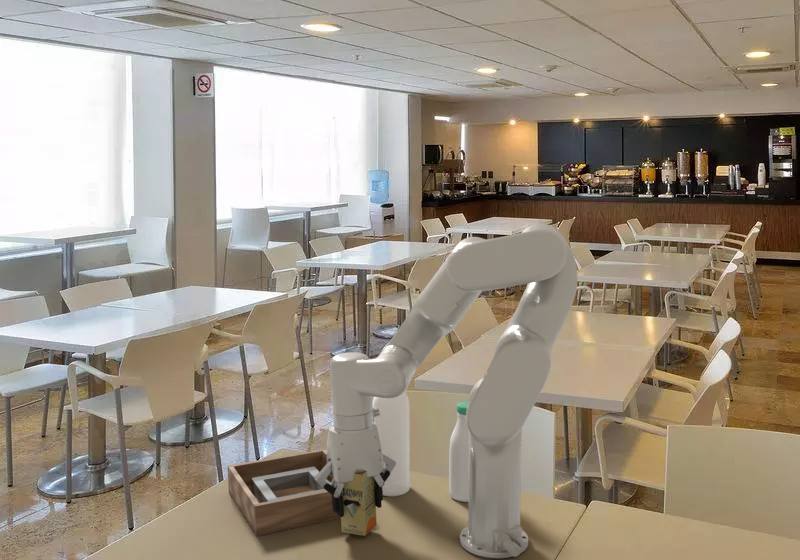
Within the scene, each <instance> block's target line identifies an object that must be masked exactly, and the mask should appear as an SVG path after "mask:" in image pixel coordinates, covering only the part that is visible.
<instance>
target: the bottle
mask: <svg viewBox="0 0 800 560" xmlns="http://www.w3.org/2000/svg"><path fill="white" fill-rule="evenodd" d="M372 404H373V408H374V409H379V411H380V415H379V416H376V417H375V418H374V422H375V423H376V424H377V428H378V431H379V436H380V440H381V446H382V453H383V454H384V455H386V456H388V457H389V458H391V459H392V460H394V461H395V462H396V465H395V467H394V468H393V470H392V472H390V476H389V477H388V478H387V480H386V481H385V482H384V483H385V485H384V486H383V487H382V490H383V497H384V496H385V497H399V496H402V495H405V494H407V493H408V492H409V491H410V490H411V474H410V470H411V469H410V468H411V467H410V466H411V463H410V462H411V461H410V460H411V459H410V456H411V453H410V450H411V449H410V440H411V439H410V400H409V397H408V394H407V390H405V392H404V393H403V394H401V395H400V396H398V397H395V398H389V399H388V398H379V397H374V396H373V398H372ZM384 466H385V463H384V462H383V468H384Z"/></svg>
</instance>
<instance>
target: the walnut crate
mask: <svg viewBox="0 0 800 560" xmlns="http://www.w3.org/2000/svg"><path fill="white" fill-rule="evenodd" d="M326 460H327V448H321V449H316V450H315V449H314V450H311V451H310V450H309V451H305V452H304V451H303V452H298V453H294V454H292V453H291V454H287V455H280V456H276V457H270V458H265V459H259V460H252V461H247V462H242V463H241V462H240V463H235V464H229V465H227V481H228V484H227V485H228V493H229V495H230V496H231V499H232V500H233V502H234V504H235V505H236V506H237V508H238V509H239V511H240V513H241V514H242V516H243V518H244V519H245V521H246V523H248V525H249V527H250V528H251V530H252V532H253V533H254V536H255V537H258V536H264V535H268V534H269V535H270V534H273V533H277V532H282V531H288V530H293V529H296V528H300V527H305V526H309V525H316V524H319V523H324V522H329V521H333V520H337V519H341V517H340V516H339V515H338V514H337V513H336V512H334V511H333V508H332V494H330V493H329V492H328V491H326V490H325V489H324V488H323V487H322V486H321V485H320V484H318V483H317V482H316V481H315V477H316V475H317V474H318V473H319V472H320V471H321V470H322V469H323V468H324V466H325V465H326V464H327V463H326ZM333 478H334V477H332V476H329V475H328V476H327V477H326V482H328V483H329V484H330V485H331V483H332V480H333Z"/></svg>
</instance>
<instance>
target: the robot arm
mask: <svg viewBox="0 0 800 560" xmlns="http://www.w3.org/2000/svg"><path fill="white" fill-rule="evenodd" d="M522 285H526V288H525V289H524V292H523V294H522V296H521V298H520V301H519V302H518V305H517V307H516V309H515V311H514V313H513V315H512V317H511V318H510V320H509V322H508V324H507V326H506V328H505V330H504V331H503V333H502V334H501V336H500V337H499V339H498V340H497V343H496V347H495V351H494V354H493V357H492V360H491V362H490V364H489V366H488V368H487V370H486V372H485V374H484V376H483V377H481V378H480V379H479V380H478V381H477V382H475V384H474V386H473V387H472V389H471V391H470V394H469V397H468V401H467V402H468V406H467V411H466V423H467V427H468V430H469V499H468V502H467V503H468V504H467V505H468V511H467V512H468V514H467V515H468V523H467V524H468V525H467V526H466V527H464V528H463V529H461V532H460V534H459V544H460V545H461V546H462V548H463V549H464V550H465V551H467V552H469V553H471V554H473V555H475V556H478V557H483V558H488V559H506V558H513V557H514V558H515V557H518V556H520V554H522V553H523V552H525V551H526V550H527V549H528V546H529V536H528V534H527V532H525V531H524V530H523V528H522V526H521V498H522V497H521V492H522V491H521V490H522V488H521V487H522V485H521V484H522V483H521V482H522V474H521V473H522V447H523V443H522V441H523V427H524V424H525V423H526V421H527V419H528V417H529V416H530V414H531V412H532V409H533V408H534V406H535V405H536V402H537V400H538V398H539V397H540V395H541V392H542V391H543V389H544V388H545V385H546V384H547V381H548V378H549V374H550V371H551V367H552V356H551V353H552V349H553V347H554V344H555V343H556V340H557V338H558V336H559V335H560V333H561V331H562V328H563V326H564V323H565V321H566V319H567V317H568V315H569V313H570V311H571V308H572V305H573V304H574V301H575V298H576V294H577V289H578V268H577V263H576V258H575V255H574V253H573V251H572V249H571V246H570V245H569V244H568V241H567V240H566V239H565V237H564V236H563V235H562V234H561V232H560V231H559V230H558V229H557V228H555V226H552V225H550V224H547V223H540V222H539V223H535V224H531V225H530V226H527V227H526V228H524V229H523V230H522V231H521V232H519V233H513V234H510V235H505V236H500V237H495V238H494V237H493V238H489V239H488V238H487V239H485V238H482V237H479V236H470V237H466V238H463V239H462V240H460V241H459V242H458V243H457V244H456V245H455V247H454V248H453V250H452V251H451V252H450V253H449V254H448V256H447V257H446V259H445V260H444V261H443V263H442V264H441V266H440V267H439V268H438V270H437V271H436V272H435V274H434V275H433V277H432V278H431V280H430V281H429V282H428V283H427V285H426V286H425V288H424V289H423V290H422V292H421V293H420V294H419V296H418V297H417V298H416V300H415V302H414V303H413V305H412V308H411V310H410V312H409V314H407V316H406V318H405V319H404V321H403V323H402V324H401V325H400V327H399V328H398V329H397V331H396V332H395V333H394V335H393V336H392V338H391V339H390V340H389V341H388V343H387V344H386V345H385V347H384V348H383V349H382V350H381V352H380V354H378V356H377V357H376V358H373V359H370V358H369V356H368V355H367V354H365V353H362V352H355V351H354V352H343V353H338V354H336V355H334V356H333V357H331V360H330V362H329V376H330V378H329V379H330V392H331V393H330V394H331V406H332V407H331V408H332V410H331V411H332V424H333V425H332V426H330V427H329V428H328V434H327V441H326V450H327V460H326V463H327V464H326V465H325V466H324V468H323V469H322V470H321V471H320V472H319V473H318V474H317V475H316V477H315V481H316V482H317V483H318V484H320V485H321V486H322V487H323V488H324V489H325V490H326V491H328V492H329V493H330V494H332V508H333V511H334V512H336V513H337V514H338V515H339V516H340V517H343V516H344V505H343V497H342V496H341V491H342V489H343V486H344V484H345V483H346V482H350V481H353V476H354V473H359V472H363V471H367V477H373V478H374V485H375V506H376V508H379V509H380V508H382V501H383V500H384V496H383V490H382V487H383V486H384V485H385V483H384V482H385V481H386V480H387V478H388V477H389V476H390V472H392V470H393V468H394V467H395V465H396V462H395V461H394V460H392V459H391V458H389V457H388V456H386V455H384V454H383V453H382V446H381V440H380V436H379V431H378V428H377V424H376V423H375V422H374V418H375V417H376V416H379V415H380V411H379V409H374V408H373V398H374V397H379V398H388V399H389V398H395V397H398V396H400V395H401V394H403V393H404V392H405V391H407V389H408V387H409V385H410V383H411V380H412V378H413V377H414V375H415V373H416V372H417V371H418V369H419V368H420V367H421V365H422V364H423V362H424V361H425V360H426V358H427V356H429V354H430V353H431V352H432V350H433V349H434V348H435V347H436V346H437V344H438V343H439V342H440V341H441V340H442V338H444V337H445V336H446V335H448V334H450V333H451V332H452V331H453V330H454V329H455V328H456V327H457V325H458V324H459V323H460V321H461V320H462V318H463V317H464V316H465V315H466V313H467V312H468V310H469V309H470V308H471V306H472V305H473V304H474V303H475V301H476V300H477V299H478V297H479V296H480V295H481V293H482V292H487V291H494V290H500V289H505V288H511V287H516V286H522ZM383 462H384V463H385V466H384V468H383ZM328 475H329V476H332V477H334V478H333V480H332V483H331V485H330V484H329V483H328V482H326V477H327V476H328Z"/></svg>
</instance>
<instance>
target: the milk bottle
mask: <svg viewBox="0 0 800 560" xmlns="http://www.w3.org/2000/svg"><path fill="white" fill-rule="evenodd" d="M467 406H468V401H462V402H459V403H457V404H456V412H457V413H456V415H457V421H456V423H455V426H454V429H453V431H452V434H451V436H450V440H449V454H448V455H449V459H448V460H449V463H448V467H449V470H448V474H449V475H448V481H449V482H448V487H449V489H448V490H449V491H448V492H449V496H450V498H452V499H454V500H455V501H457V502H463V503H468V499H469V430H468V427H467V423H466V411H467Z"/></svg>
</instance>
